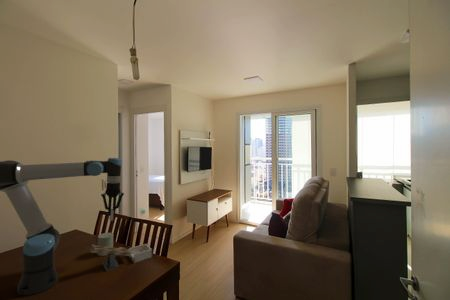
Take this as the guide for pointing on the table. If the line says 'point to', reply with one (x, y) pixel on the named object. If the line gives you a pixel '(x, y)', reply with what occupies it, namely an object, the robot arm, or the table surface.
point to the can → (105, 241)
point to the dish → (140, 253)
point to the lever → (110, 250)
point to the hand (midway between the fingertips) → (111, 220)
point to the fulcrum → (110, 262)
